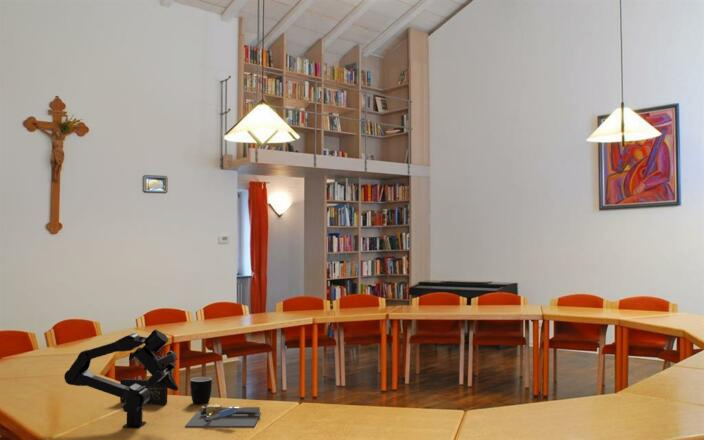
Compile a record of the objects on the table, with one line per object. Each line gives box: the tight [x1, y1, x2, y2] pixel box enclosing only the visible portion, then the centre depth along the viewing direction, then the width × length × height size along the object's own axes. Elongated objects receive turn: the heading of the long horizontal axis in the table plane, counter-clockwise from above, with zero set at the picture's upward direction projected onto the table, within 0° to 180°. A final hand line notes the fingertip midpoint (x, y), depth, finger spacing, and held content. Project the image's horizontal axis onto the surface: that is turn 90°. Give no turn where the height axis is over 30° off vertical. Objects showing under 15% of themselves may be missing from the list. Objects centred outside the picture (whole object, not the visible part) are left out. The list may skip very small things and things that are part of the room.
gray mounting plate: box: [184, 411, 262, 429], centre depth 241 cm, size 26×18×1 cm
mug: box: [189, 376, 213, 406], centre depth 265 cm, size 12×9×10 cm
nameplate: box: [119, 378, 168, 406], centre depth 265 cm, size 21×2×10 cm, turn 79°
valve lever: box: [204, 406, 236, 422], centre depth 234 cm, size 2×2×12 cm
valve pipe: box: [199, 403, 261, 417], centre depth 241 cm, size 23×12×4 cm, turn 90°
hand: (177, 389), depth 235 cm, fingers closed
